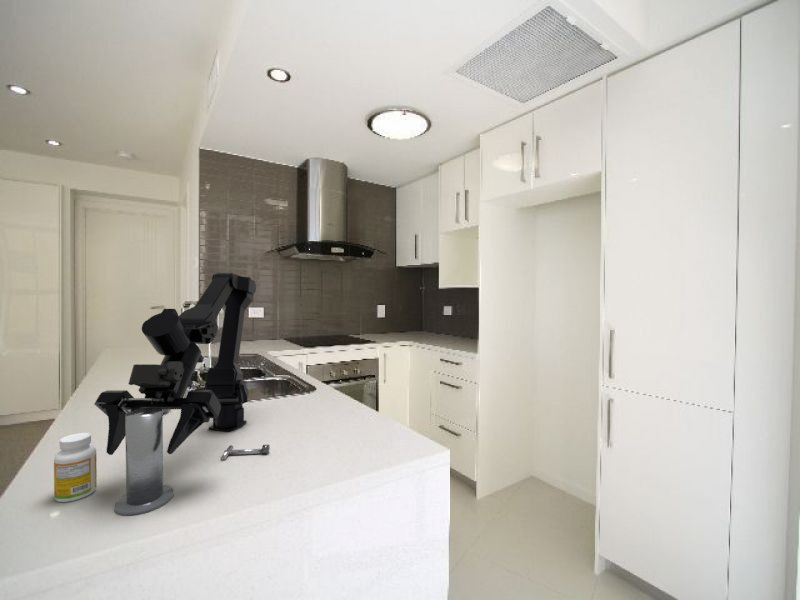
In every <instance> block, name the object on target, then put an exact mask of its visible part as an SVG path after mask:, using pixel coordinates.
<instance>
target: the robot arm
mask: <svg viewBox="0 0 800 600" xmlns="http://www.w3.org/2000/svg"><path fill="white" fill-rule="evenodd" d="M256 289H257V283H256V282H255V280H253V279H252V277H250V276H241V275H238V274H236V273H233V272H216V273H213V274H212V277H211V282H210V283H209V285H208V286H207V288H206V289H205V290H204V292H203V293H202V295H201V296H200V297H199V299H198V300H197V302H196V304H195V305H194V306H193V307H190V308H188V309H186V310H183V312H181V313H180V314H179V313H178V311H177V310H176V308H163V309H162V311H161V312H159V313H156V314H154V315H152V316H151V317H150V318H149V317H148V319H146V320H145V321H144V322H143V324H142V325H141V332H142V334H143V335H144V336H145V338H146V339H147V340H148V342H149V343H150V345H151V346H152V347H153V349H154V350H155V351H156V352H157V354H159V355H161V356H163V359H162V360H161V362H160V364H143V363H142V364H139V363H138V364H133V366H132V369H131V372H130V373H131V374H130V377H129V380H128V385H130V386H133V385H134V386H137V387H139V388H138V392H139V393H140V394H142V395H144V397H143V398H142V397H141V398H140V397H134V396H133V395H132V394H131V393H130V392H129V391H128V390H127V389H126V390H124V389H123V390H115V389H113V390H109V389H108V390H105V391H102V392H101V393H99V395H98V396H97V397H96V398H97V399H96V400H95V402H94V403H93V405H94V406H96V407H97V408H98V410H100V411H101V412H103V413H104V414H105V415H106V416H107V418H108V433H107V444H106V454H107V455H109V456H112V455H114V453H115V452H116V451H117V449H118V448H119V446H120V445H121V444H122V442H123V440H125V438H126V437H125V415H126V414H127V413H128V412H131V411H134V410H138V409H143V408H153V407H156V408H161V409H171V410H180V415H179V416H180V417H179V420H178V422H177V423H176V426H175V429H174V431H173V433H172V435H171V438H170V440H169V443H168V447H167V448H166V453H167V454H169V455H172V454H174V452H176V450H177V449H178V448H179V447H180V446H181V445H182V443H184V442H185V441H186V439H188V438H189V436H191V435H192V434H193V433H194V432H195V431H196V430H197V429H199V428H200V427H201V426H202V425H203V424H205V423H209V422H210V420H211V419H212V425H210V426H208V430H211V431H222V432H233V431H234V430H236V429H238V428H241V426H243V425H246V424H247V420H245V408H244V406H243V404H246V403H248V402H249V400H248V399H249V393H250V392H249V388H248V387H247V385H246V384H245V382H244V373H243V371H242V370H241V367H240V365H239V358H240V352H241V351H240V350H241V343H242V336H243V327H244V319H245V313H246V310H247V308H248V307H249V306H250V305H251V304H252V302H253V299H254V295H255V293H256V292H257V291H256ZM224 306H225V307H224ZM223 307H224V308H225V309H224V316H223V321H222V329H221V336H220V342H219V350H218V355H217V362H216V363H215V365H214V366H213V367H210V368H208V370H207V373H206V375H207V376H206V381H205V383H204V385H203V388H204V389H191V390H190V391H188V392H187V394H186V391H187V389H188V388H192V387H193V384H194V382H193V380H192V377H193V374H194V372H195V369H196V366H197V365H198V363H201V364H202V363H203V362H204V356H203V355H202V351H201V349H200V347H199V345H208V344H211V343H212V342H213V340H214V339H215V338H216V336H217V333H218V328H219V327H218V324H217V323H218V322H217V321H216V320H217V318H218V316H219V314H220V312H222V309H223ZM185 394H186V397H184V396H185Z"/></svg>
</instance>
